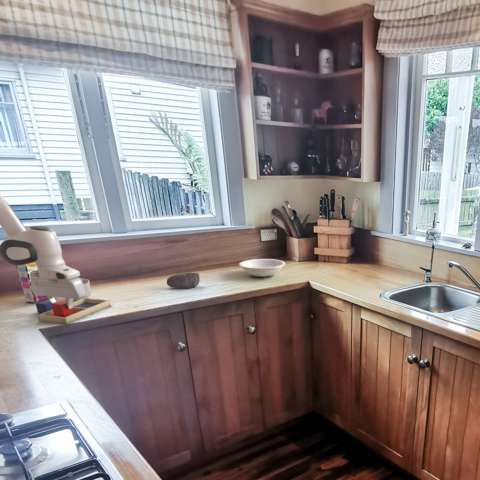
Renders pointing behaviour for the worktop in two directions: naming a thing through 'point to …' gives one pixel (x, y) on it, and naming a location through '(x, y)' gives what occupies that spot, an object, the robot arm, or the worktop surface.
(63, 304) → the red block
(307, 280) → the worktop surface
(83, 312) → the tray
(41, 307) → the navy block
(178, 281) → the perforated stone tool
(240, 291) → the worktop surface
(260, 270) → the soup bowl
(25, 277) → the candy bar box
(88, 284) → the teacup
